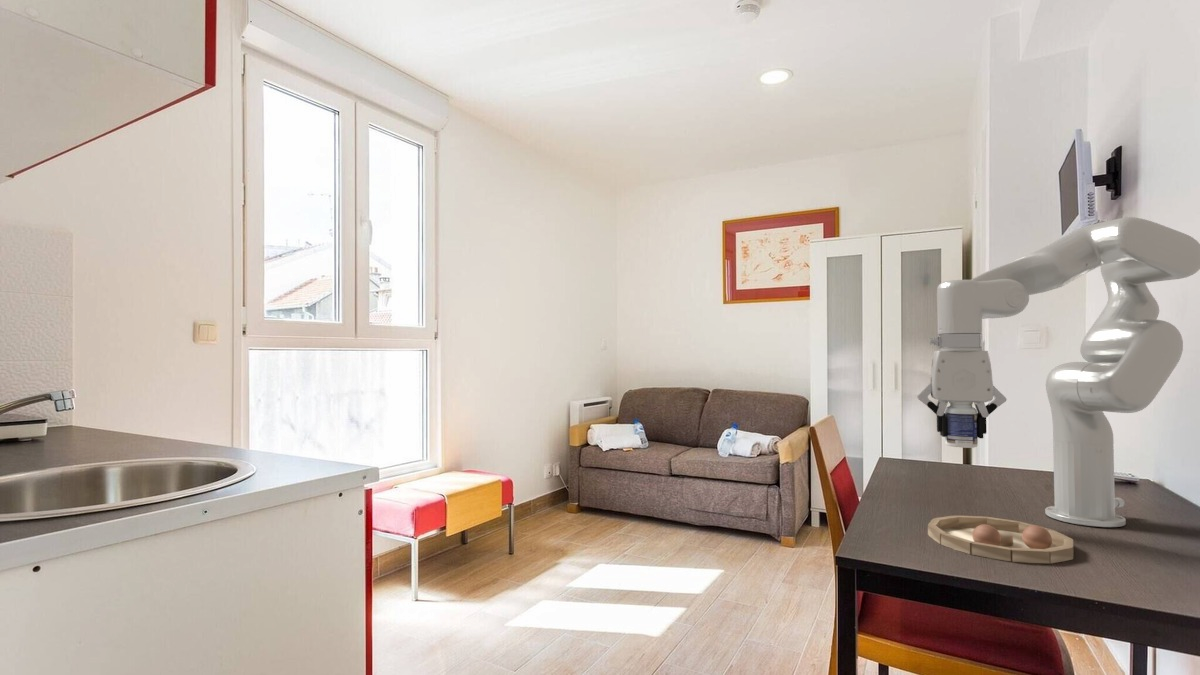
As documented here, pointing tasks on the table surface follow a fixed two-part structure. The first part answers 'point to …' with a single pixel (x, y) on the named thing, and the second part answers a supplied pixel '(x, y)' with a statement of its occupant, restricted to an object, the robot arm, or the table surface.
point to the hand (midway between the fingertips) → (961, 435)
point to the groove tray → (1012, 546)
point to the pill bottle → (961, 425)
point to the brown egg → (986, 535)
